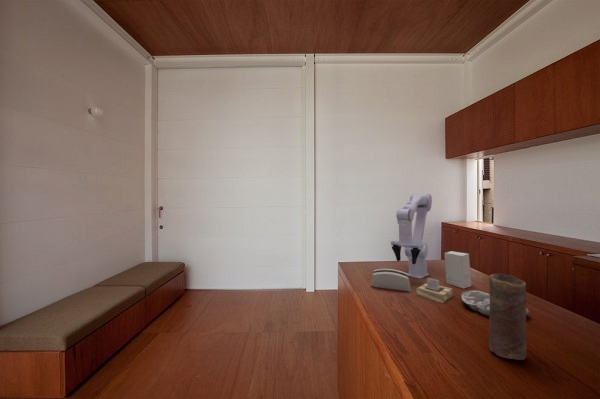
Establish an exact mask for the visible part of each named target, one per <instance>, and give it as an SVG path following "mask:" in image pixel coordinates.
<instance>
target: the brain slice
mask: <svg viewBox="0 0 600 399" xmlns="http://www.w3.org/2000/svg"><path fill="white" fill-rule="evenodd" d="M460 298H461V300H462V302H463V304H465V305H467V306H468V307H469V308H470V309H471V310H473V311H475V312H479V313H480V314H482V315H484V316H488V317H490V293H487V292H484V291H481V290H469V291H463V292H461V294H460ZM529 313H530V309H529V308H527V307H526V315H528V314H529Z"/></svg>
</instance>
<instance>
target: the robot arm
mask: <svg viewBox="0 0 600 399" xmlns="http://www.w3.org/2000/svg"><path fill="white" fill-rule="evenodd" d="M432 198H433V197H432V195H431V194H430V193H423V194H422V193H421V194H418V193H415V194H414V193H412V194H411V195H410V196H409V201H407V202H406V203H405V204H404V206H402V207H401V208H399V209H398V210H396V221H397V224H398V239H399V240H398V241H396V240H392V241H390V246H391V249H392V251H393V253H394V256H395V260H396V262H400V261H401V257H402V256H401V254H402V253H401V251H402V250H401V249H402V248H404V255H405V256H406V257H407V259H408V272H406V273H407V274H408V276H409V277H413V278H416V279H421V280H422V279H423V278H424V277H427V276H429V275H430V274H429V273H428V265H427V262H428V261H427V259H426V258H427V257H428V245H427V243H426V242H425V241H424V240H423V238H424V232H425V225H426V219H427V215H428V212H430V211H431V209H432V204H433V199H432ZM415 213H416V216H415ZM414 216H415V217H414ZM414 218H415V222H414V227H413V220H414ZM413 228H414V229H413Z"/></svg>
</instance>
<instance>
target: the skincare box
mask: <svg viewBox="0 0 600 399" xmlns="http://www.w3.org/2000/svg"><path fill="white" fill-rule="evenodd" d="M470 262H471V261H470V254H469V253H466V252H460V251H459V252H458V251H453V250H451V251H447V252H444V263H445V264H444V266H445V267H444V268H445V280H446V284H447V285H451V286H454V287H457V288H461V289H467V288H470V287H472V276H471V265H470Z"/></svg>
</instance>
